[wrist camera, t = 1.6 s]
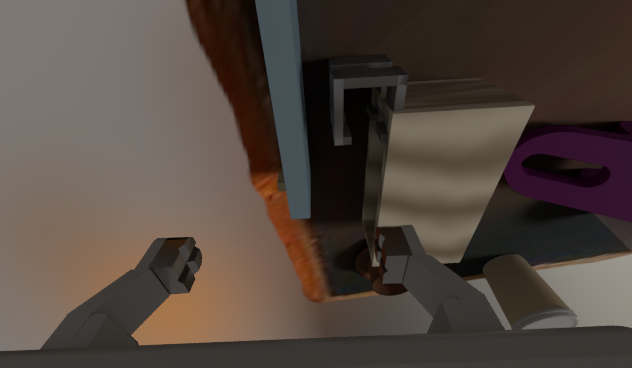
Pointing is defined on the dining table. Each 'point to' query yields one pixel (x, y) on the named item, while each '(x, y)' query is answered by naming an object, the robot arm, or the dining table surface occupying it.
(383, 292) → the cup and saucer
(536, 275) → the coffee cup
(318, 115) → the dining table surface
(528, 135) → the mounting bracket
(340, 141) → the cabinet
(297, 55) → the door
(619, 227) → the smoothie
